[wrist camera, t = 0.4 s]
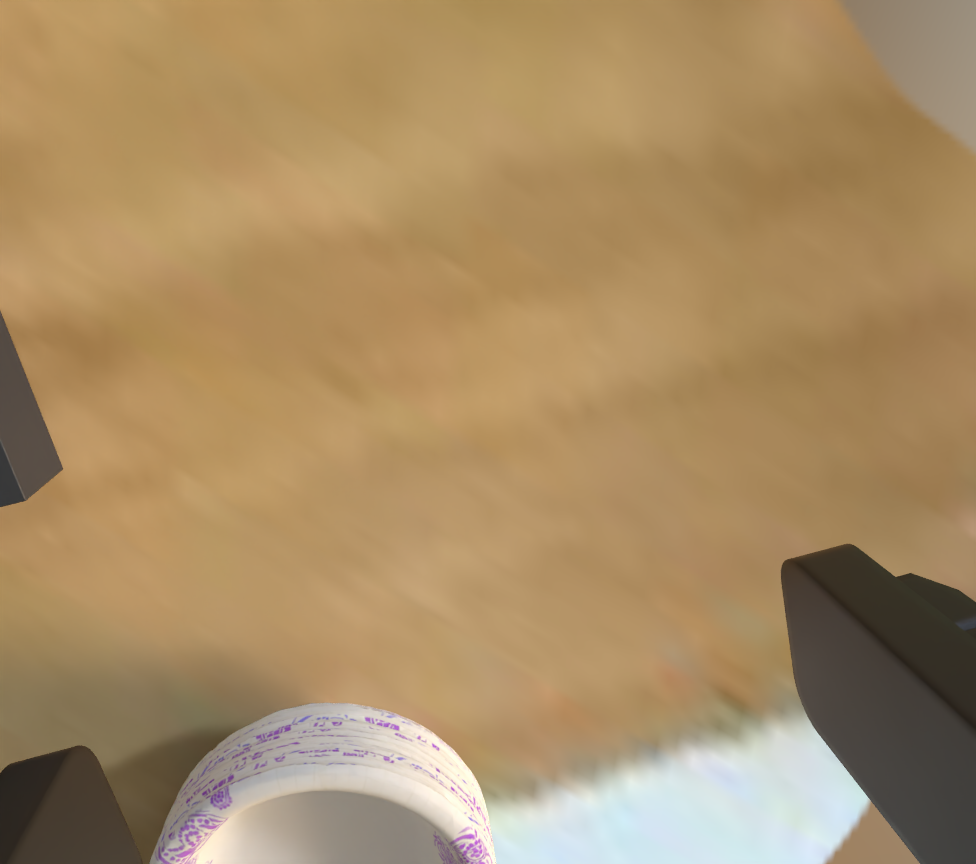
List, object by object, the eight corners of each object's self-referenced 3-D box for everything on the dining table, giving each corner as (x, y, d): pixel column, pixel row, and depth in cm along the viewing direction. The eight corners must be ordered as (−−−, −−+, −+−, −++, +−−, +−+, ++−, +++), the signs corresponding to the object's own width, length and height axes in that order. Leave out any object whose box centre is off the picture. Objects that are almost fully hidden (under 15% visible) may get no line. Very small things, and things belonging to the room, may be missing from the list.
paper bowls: (166, 673, 40) (114, 786, 32) (485, 659, 42) (507, 763, 34) (191, 931, 44) (150, 1085, 36) (480, 908, 46) (499, 1051, 38)
